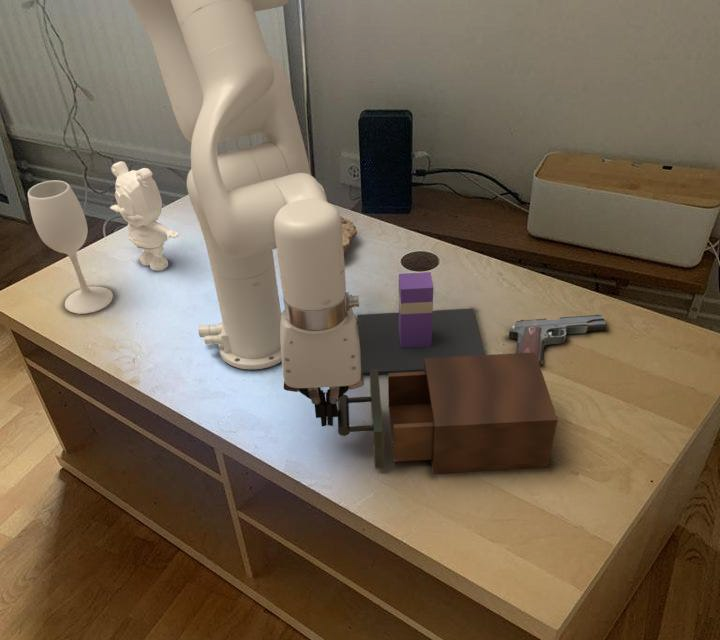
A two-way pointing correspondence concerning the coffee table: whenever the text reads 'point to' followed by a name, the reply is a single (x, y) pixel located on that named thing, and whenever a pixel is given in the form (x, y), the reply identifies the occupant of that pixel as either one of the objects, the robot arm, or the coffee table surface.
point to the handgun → (551, 332)
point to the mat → (384, 352)
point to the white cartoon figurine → (142, 213)
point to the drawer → (396, 416)
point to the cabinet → (489, 413)
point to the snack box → (415, 309)
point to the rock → (347, 232)
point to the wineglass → (65, 237)
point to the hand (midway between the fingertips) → (327, 419)
